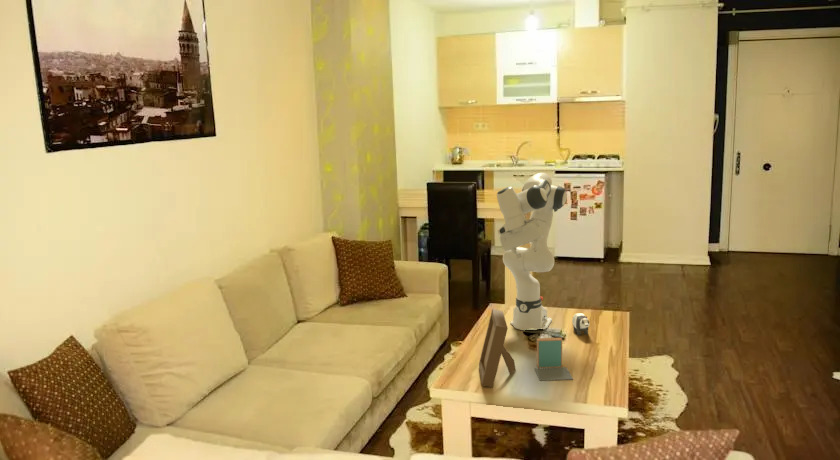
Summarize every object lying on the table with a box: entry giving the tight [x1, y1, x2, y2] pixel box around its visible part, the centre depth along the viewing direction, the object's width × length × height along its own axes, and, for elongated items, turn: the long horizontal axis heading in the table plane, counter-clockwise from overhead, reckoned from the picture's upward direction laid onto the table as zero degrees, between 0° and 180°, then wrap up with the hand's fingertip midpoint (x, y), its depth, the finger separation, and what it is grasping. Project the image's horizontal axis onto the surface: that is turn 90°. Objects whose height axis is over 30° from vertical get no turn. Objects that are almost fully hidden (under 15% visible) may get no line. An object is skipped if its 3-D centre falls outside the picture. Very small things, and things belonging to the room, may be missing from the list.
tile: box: [536, 337, 563, 368], centre depth 285 cm, size 10×3×12 cm, turn 91°
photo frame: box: [478, 308, 516, 388], centre depth 276 cm, size 15×22×25 cm
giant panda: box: [571, 312, 590, 336], centre depth 323 cm, size 15×6×10 cm, turn 4°
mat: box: [534, 366, 574, 382], centre depth 278 cm, size 12×13×1 cm
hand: (528, 254), depth 292 cm, fingers open, 8 cm apart
